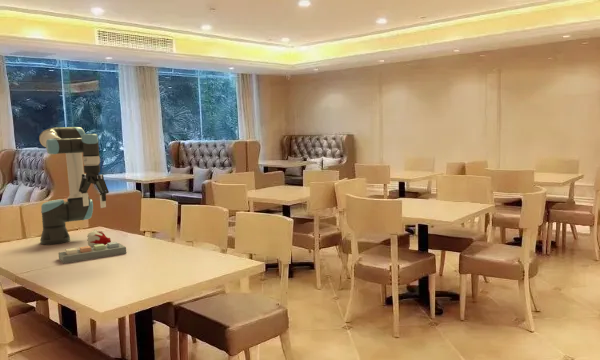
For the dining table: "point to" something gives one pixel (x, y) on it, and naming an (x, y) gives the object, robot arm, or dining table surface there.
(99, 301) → the dining table surface
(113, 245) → the key greyblue
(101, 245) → the key sage
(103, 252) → the keypad
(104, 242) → the candle
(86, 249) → the key terracotta
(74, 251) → the key ivory
